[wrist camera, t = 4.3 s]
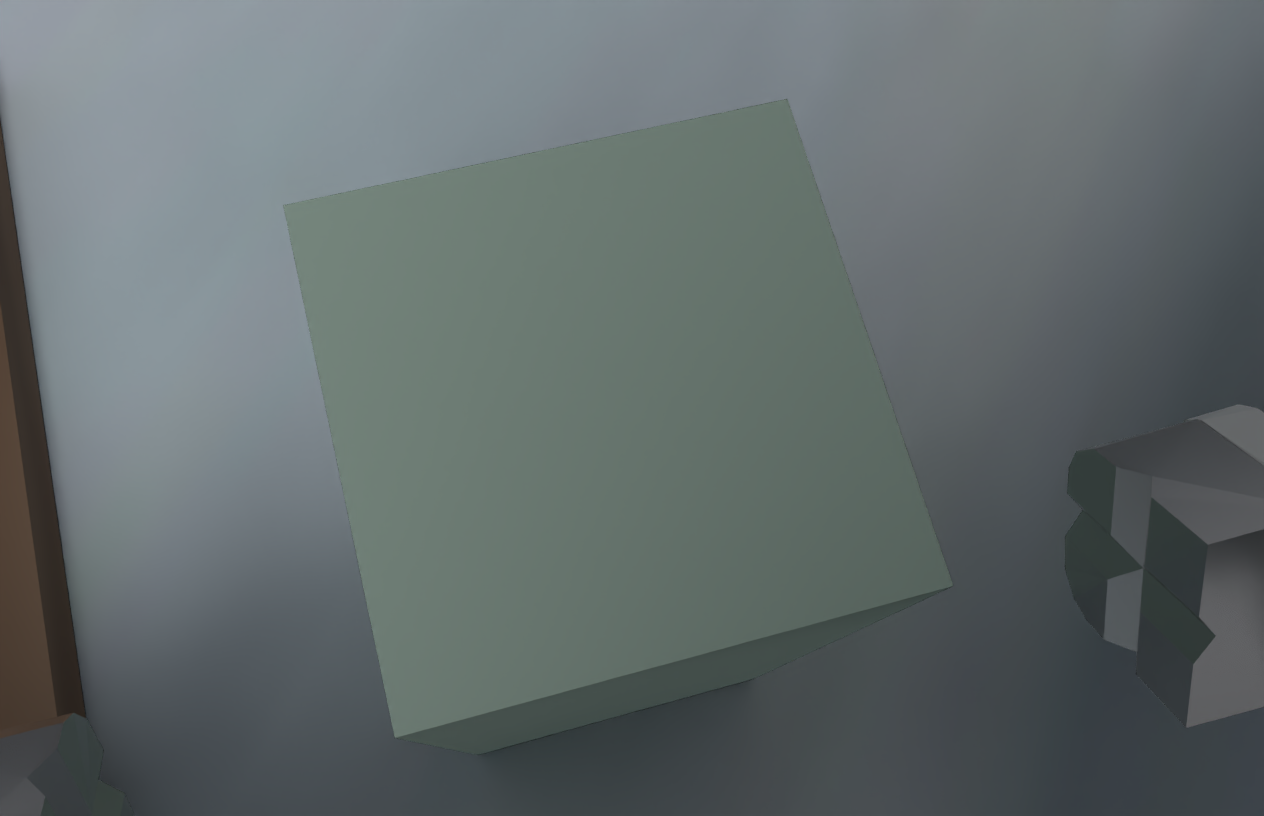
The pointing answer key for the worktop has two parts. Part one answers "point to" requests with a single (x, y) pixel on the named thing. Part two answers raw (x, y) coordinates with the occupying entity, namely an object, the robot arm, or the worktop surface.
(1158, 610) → the robot arm
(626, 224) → the green block
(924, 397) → the worktop surface
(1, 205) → the walnut board
